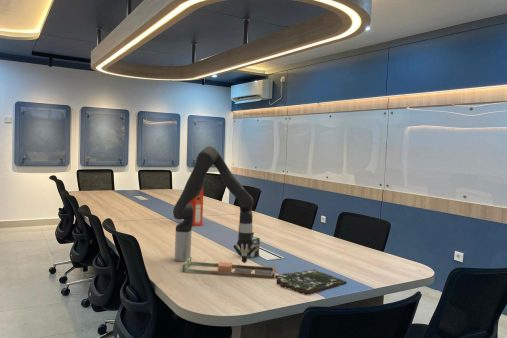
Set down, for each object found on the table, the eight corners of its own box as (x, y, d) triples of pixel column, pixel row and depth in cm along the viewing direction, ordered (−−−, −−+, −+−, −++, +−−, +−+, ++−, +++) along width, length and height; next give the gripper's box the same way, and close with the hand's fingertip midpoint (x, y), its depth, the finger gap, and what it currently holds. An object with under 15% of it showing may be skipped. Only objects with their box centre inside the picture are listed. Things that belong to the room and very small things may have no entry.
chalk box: (249, 252, 256) (250, 230, 255) (259, 256, 250) (260, 232, 249) (238, 255, 250) (239, 231, 249) (248, 258, 243) (250, 234, 242)
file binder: (193, 226, 327) (195, 187, 325) (184, 222, 341) (185, 185, 339) (202, 225, 332) (203, 187, 330) (192, 221, 346) (194, 185, 344)
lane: (189, 264, 226) (189, 257, 226) (274, 270, 223) (275, 263, 223) (182, 272, 212) (182, 264, 212) (274, 278, 208) (274, 271, 208)
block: (219, 269, 221) (219, 262, 220) (231, 269, 221) (231, 262, 220) (217, 273, 214) (218, 265, 213) (230, 273, 214) (231, 266, 213)
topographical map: (346, 284, 207) (346, 278, 207) (302, 297, 186) (303, 291, 186) (309, 270, 227) (309, 265, 226) (266, 280, 206) (266, 275, 206)
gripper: (258, 230, 218) (256, 261, 219) (234, 228, 219) (233, 259, 220) (257, 233, 211) (255, 265, 212) (232, 231, 212) (231, 263, 213)
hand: (244, 262), depth 216 cm, fingers closed
